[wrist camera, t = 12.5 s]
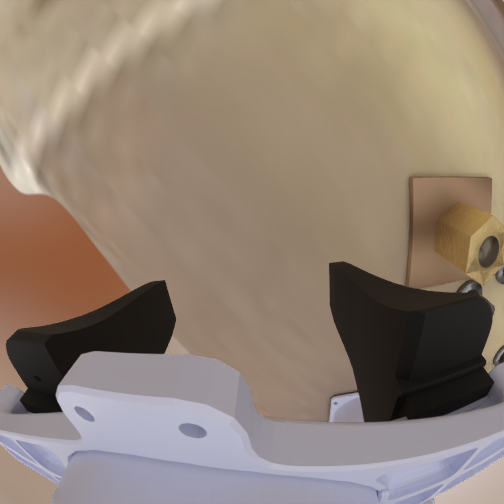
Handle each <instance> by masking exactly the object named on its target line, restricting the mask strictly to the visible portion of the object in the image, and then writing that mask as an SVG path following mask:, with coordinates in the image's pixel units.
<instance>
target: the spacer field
mask: <svg viewBox="0 0 504 504" xmlns="http://www.w3.org/2000/svg"><path fill="white" fill-rule="evenodd" d="M496 279H497V281H499V282H500V283H501V284H504V265H503V266H502V267H501V268H500V269H499V270H498V271H497V272H496ZM464 292H476V293H478V294H479V295H480V296H481V297H482V298H483V299H484V300H486V301H487V302H488V304H489V305H490V306H491V309H492V312H493V314H494V310H495V308H494V306H493V305H492V304H491V303H490V302H489V301H488V300H487V299H486V298H484V297H483V296H482V287H481V285H480V284H479V283H478V282H477V281H475V280H469V281H467V282H465V283H464V284H463V285H462V286H461V287H460V288H459V290H458V291H457V293H464ZM493 314H492V316H493ZM503 362H504V346H503V347H502V348H501V349H500V350H499V351H498V352H497V354H496V355H495V357H494V360H493V364H494V365H495V366H497V365H499V364H501V363H503Z"/></svg>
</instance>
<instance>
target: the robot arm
mask: <svg viewBox="0 0 504 504" xmlns="http://www.w3.org/2000/svg"><path fill="white" fill-rule="evenodd" d="M329 275H330V307H331V311H332V315H333V319H334V323H335V325H336V328H337V330H338V332H339V335H340V337H341V340H342V342H343V344H344V347H345V349H346V352H347V354H348V357H349V359H350V362H351V365H352V368H353V372H354V376H355V380H356V384H357V388H358V392H356V393H351V394H345V395H339V396H334V397H332V398H331V406H330V416H329V422H321V421H305V420H293V419H283V418H274V417H266V416H261V415H259V414H258V413H257V410H256V408H255V406H254V402H253V397H252V393H251V389H250V387H249V386H248V384H247V383H246V381H245V380H244V378H243V376H242V375H241V373H240V372H239V371H237V370H235V369H233V368H231V367H230V366H228V365H226V364H224V363H223V362H221V361H219V360H218V359H214V358H208V357H202V356H196V355H191V354H164V353H165V351H166V349H167V346H168V344H169V342H170V339H171V337H172V334H173V330H174V326H175V322H176V317H175V313H174V310H173V307H172V303H171V300H170V297H169V293H168V290H167V286H166V282H165V280H163V281H153V282H150V283H147V284H145V285H143V286H141V287H139V288H137V289H135V290H133V291H131V292H130V293H128V294H126V295H124V296H123V297H121V298H119V299H117V300H115V301H113V302H111V303H109V304H107V305H105V306H103V307H101V308H99V309H97V310H95V311H93V312H90V313H88V314H85V315H82V316H79V317H76V318H73V319H70V320H67V321H63V322H59V323H56V324H51V325H46V326H40V327H31V328H22V329H18V330H17V331H16V332H15V333H14V334H13V335H12V336H11V337H10V338H9V339H8V340H7V342H6V349H7V354H8V356H9V359H10V360H11V362H12V364H13V366H14V368H15V369H16V371H17V372H18V374H19V376H20V377H21V379H22V380H23V382H24V383H25V385H26V386H27V388H28V389H27V391H26V392H25V393H24V392H23V391H22V390H20V389H19V388H16V387H14V386H11V385H8V384H5V386H4V387H3V388H2V389H1V390H0V444H1V445H2V446H3V447H4V448H5V449H6V450H7V451H9V453H10V454H11V455H12V456H13V457H14V458H16V459H17V460H19V461H20V462H22V463H23V464H25V465H27V466H28V467H30V468H31V469H33V470H34V471H36V472H38V473H39V474H41V475H43V476H44V477H46V478H47V479H49V480H51V481H53V482H54V483H56V484H58V486H57V488H56V490H55V493H54V495H53V497H52V499H51V501H50V504H435V500H434V497H436V496H438V495H439V494H442V493H444V492H446V491H447V490H449V489H451V488H453V487H455V486H456V485H458V484H460V483H462V482H464V481H465V480H467V479H469V478H470V477H472V476H474V475H475V474H477V473H479V472H480V471H482V470H483V469H485V468H487V467H488V466H490V465H491V464H493V463H494V462H496V461H497V460H498V459H500V458H502V457H503V456H504V362H503V363H501V364H499V365H497V366H496V367H494V368H493V369H492V370H491V371H490V372H489V374H488V373H487V371H486V370H485V369H484V366H485V365H486V360H485V358H484V357H483V356H482V355H481V354H482V352H483V349H484V346H485V344H486V341H487V338H488V336H489V333H490V329H491V325H492V314H493V312H492V309H491V306H490V305H489V304H488V302H487V301H486V300H484V299H483V298H482V297H481V296H480V295H479V294H478V293H476V292H464V293H447V292H434V291H426V290H421V289H415V288H410V287H406V286H403V285H399V284H396V283H393V282H390V281H387V280H384V279H382V278H379V277H377V276H375V275H372V274H370V273H368V272H366V271H364V270H362V269H360V268H358V267H355V266H353V265H351V264H349V263H347V262H335V263H329Z"/></svg>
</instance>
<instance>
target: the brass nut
mask: <svg viewBox="0 0 504 504" xmlns="http://www.w3.org/2000/svg"><path fill="white" fill-rule="evenodd" d="M435 252H437V253H438V254H440V255H441V256H442V257H444V258H445V259H447V260H448V261H449V262H451V263H452V264H453V265H455V266H456V267H457V268H459V269H460V270H461V271H463V272H464V273H465V274H467V275H468V276H470V277H471V278H473V279H474V280H476V281H477V282H478V283H480V284H481V285H484V284H485V283H486V282H487V281H488V280H489V279H490V278H491V277H492V276H493V275H494V274H495V273H496V272H497V271H498V270H499V269H500V268H501V267H502V266H503V265H504V226H503V225H502V224H501V223H500V222H499V221H498V220H497V219H496V218H495V217H494V216H493V215H491V214H489V213H486V212H484V211H481V210H479V209H476V208H474V207H471V206H468V205H466V204H463V203H460V202H457V203H456V204H454V205H453V206H452V207H451V208H450V209H448V210H447V211H446V212H445V213H444V214H442V215H441V216H440V217H439V218H438V219H437V223H436V239H435Z"/></svg>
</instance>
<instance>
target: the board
mask: <svg viewBox="0 0 504 504" xmlns="http://www.w3.org/2000/svg"><path fill="white" fill-rule="evenodd" d="M491 198H492V178H488V177H410V238H409V256H408V269H407V279H406V287H410V288H415V289H420V288H426V287H431V286H436V285H440V284H445V283H450V282H454V281H459V280H463V279H468V278H471V277H470V276H468V275H467V274H465V273H464V272H463V271H461V270H460V269H459V268H457V267H456V266H455V265H453V264H452V263H451V262H449V261H448V260H447V259H445V258H444V257H442V256H441V255H440V254H438V253H437V252H435V239H436V223H437V219H438V218H439V217H440V216H441V215H442V214H444V213H445V212H446V211H447V210H448V209H450V208H451V207H452V206H453V205H454V204H456V203H457V202H460V203H463V204H466V205H468V206H471V207H474V208H476V209H479V210H481V211H484V212H486V213H489V214H491Z"/></svg>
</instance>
